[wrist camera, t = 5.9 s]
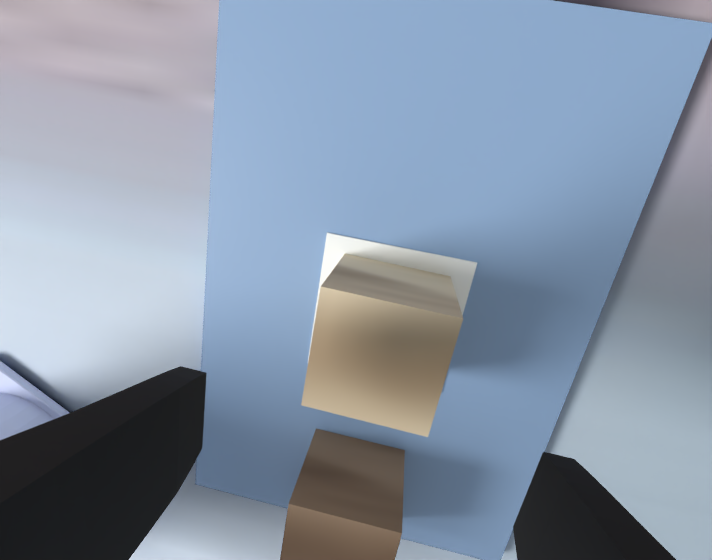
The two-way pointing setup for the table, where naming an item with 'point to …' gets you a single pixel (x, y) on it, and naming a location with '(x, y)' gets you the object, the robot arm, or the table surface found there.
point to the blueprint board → (426, 221)
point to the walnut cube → (346, 501)
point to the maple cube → (382, 343)
